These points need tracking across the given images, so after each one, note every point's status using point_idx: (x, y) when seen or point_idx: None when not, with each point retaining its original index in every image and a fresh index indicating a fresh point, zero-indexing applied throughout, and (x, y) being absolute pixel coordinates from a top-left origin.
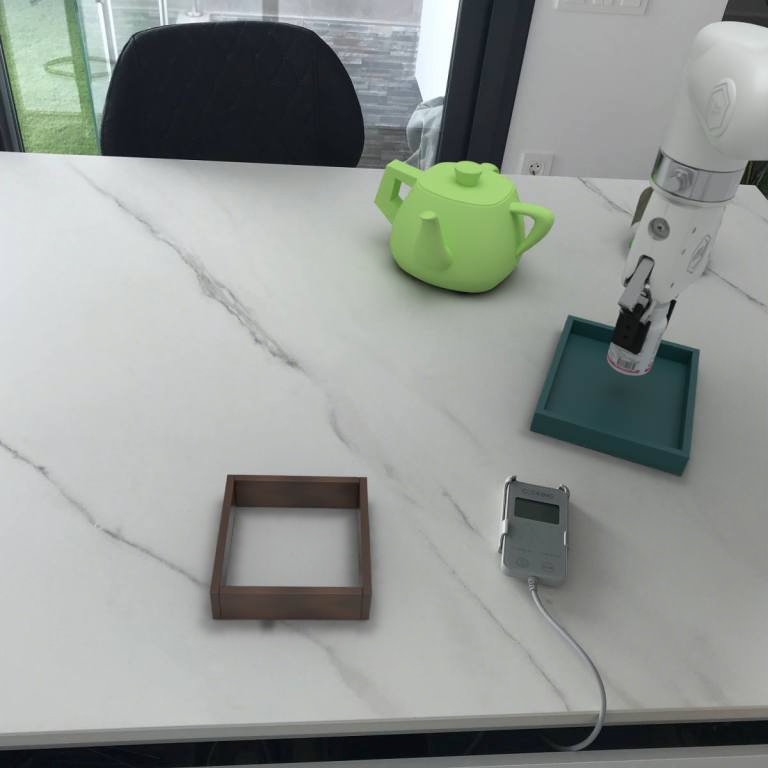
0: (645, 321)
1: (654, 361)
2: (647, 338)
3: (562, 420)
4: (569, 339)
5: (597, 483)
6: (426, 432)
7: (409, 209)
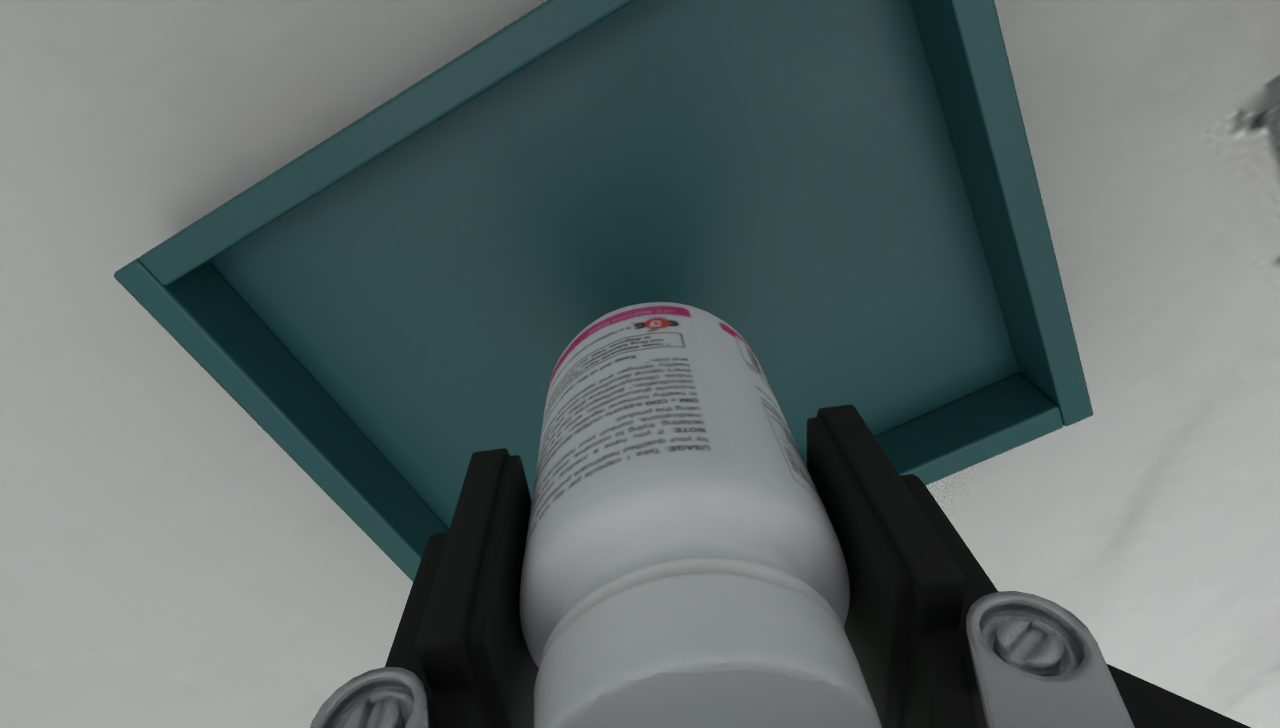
0: (1030, 619)
1: (340, 352)
2: (792, 464)
3: (1072, 331)
4: None
5: (1154, 45)
6: (1232, 518)
7: None
